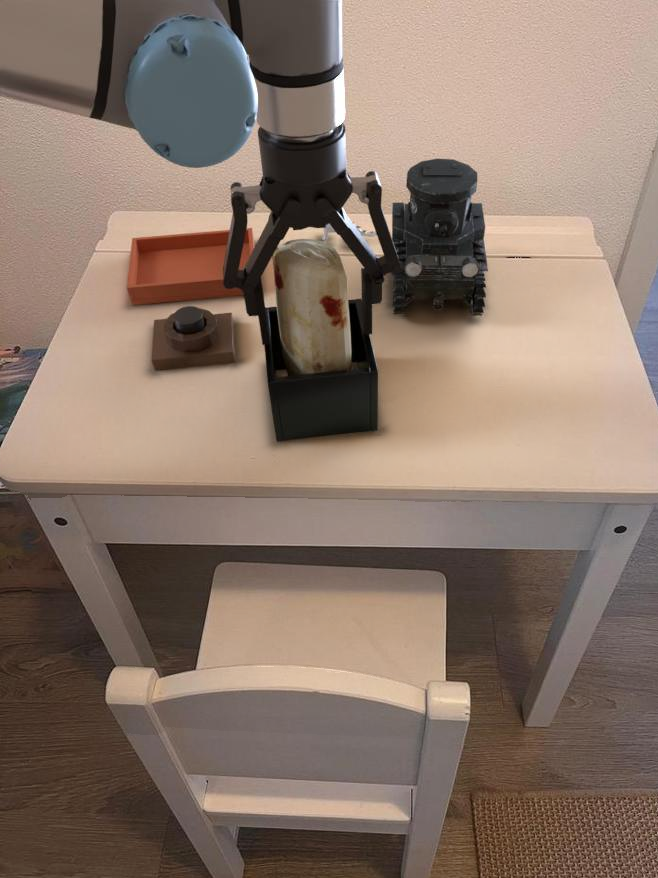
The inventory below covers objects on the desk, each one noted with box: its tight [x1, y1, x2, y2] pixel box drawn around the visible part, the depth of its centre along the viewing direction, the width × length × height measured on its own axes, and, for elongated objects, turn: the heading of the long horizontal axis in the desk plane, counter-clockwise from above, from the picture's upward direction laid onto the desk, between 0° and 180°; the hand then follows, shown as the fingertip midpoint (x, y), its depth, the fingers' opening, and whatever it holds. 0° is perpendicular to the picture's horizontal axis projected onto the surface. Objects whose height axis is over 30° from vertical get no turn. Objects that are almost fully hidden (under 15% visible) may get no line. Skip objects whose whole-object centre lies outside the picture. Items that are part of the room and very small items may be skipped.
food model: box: [271, 238, 353, 376], centre depth 78 cm, size 10×7×20 cm
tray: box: [126, 227, 256, 306], centre depth 101 cm, size 17×12×3 cm
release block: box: [150, 307, 236, 371], centre depth 91 cm, size 10×8×4 cm
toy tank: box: [391, 158, 489, 316], centre depth 94 cm, size 12×18×15 cm
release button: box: [173, 305, 205, 335], centre depth 89 cm, size 4×4×2 cm
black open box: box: [263, 297, 379, 443], centre depth 82 cm, size 12×13×9 cm
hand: (316, 331), depth 78 cm, fingers open, 10 cm apart
